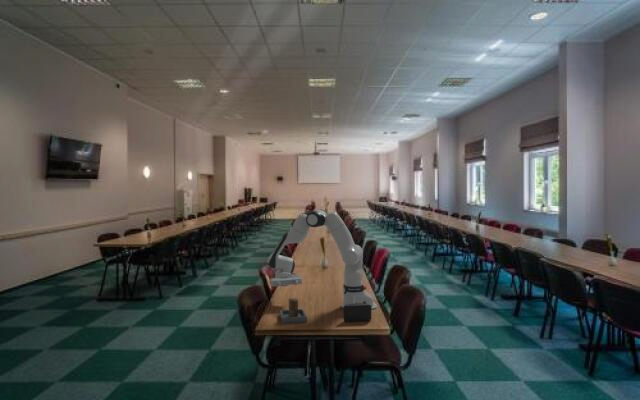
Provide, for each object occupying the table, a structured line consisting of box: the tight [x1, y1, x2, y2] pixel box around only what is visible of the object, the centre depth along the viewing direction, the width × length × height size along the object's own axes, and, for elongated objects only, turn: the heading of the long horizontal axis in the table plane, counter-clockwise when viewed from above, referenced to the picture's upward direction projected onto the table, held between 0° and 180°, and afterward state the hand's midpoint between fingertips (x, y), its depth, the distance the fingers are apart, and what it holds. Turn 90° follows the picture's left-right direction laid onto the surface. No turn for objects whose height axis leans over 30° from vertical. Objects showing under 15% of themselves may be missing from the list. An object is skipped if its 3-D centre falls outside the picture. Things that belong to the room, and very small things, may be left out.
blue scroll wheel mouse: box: [342, 303, 373, 323], centre depth 208 cm, size 16×5×9 cm, turn 98°
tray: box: [279, 308, 308, 324], centre depth 210 cm, size 14×14×3 cm
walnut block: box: [288, 297, 299, 317], centre depth 210 cm, size 4×4×10 cm
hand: (288, 284), depth 225 cm, fingers open, 8 cm apart
